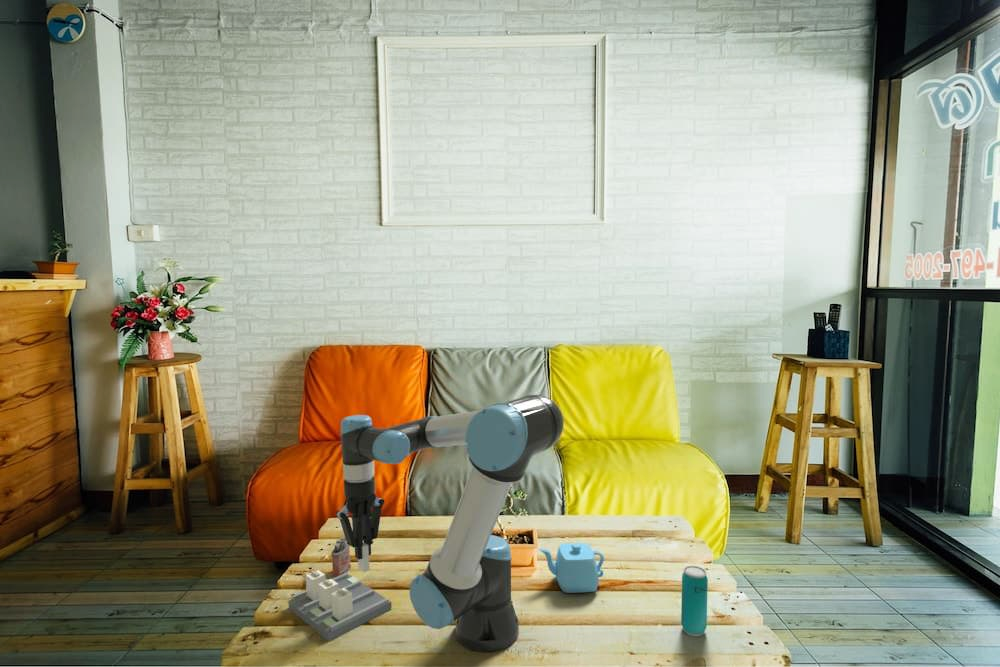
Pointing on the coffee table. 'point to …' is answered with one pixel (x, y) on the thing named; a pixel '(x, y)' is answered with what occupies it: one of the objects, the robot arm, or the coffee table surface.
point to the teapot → (575, 567)
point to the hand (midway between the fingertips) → (364, 569)
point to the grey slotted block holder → (322, 621)
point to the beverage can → (694, 600)
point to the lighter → (340, 557)
